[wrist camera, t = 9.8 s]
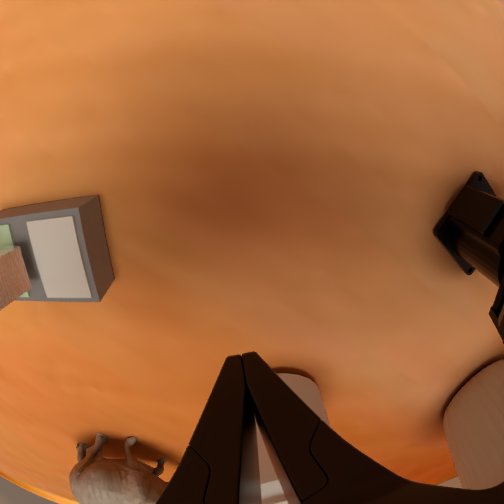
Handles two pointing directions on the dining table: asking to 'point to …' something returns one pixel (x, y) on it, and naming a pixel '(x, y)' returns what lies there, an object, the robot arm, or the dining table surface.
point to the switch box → (61, 249)
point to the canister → (478, 429)
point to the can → (270, 485)
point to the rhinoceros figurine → (114, 476)
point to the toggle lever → (12, 275)
